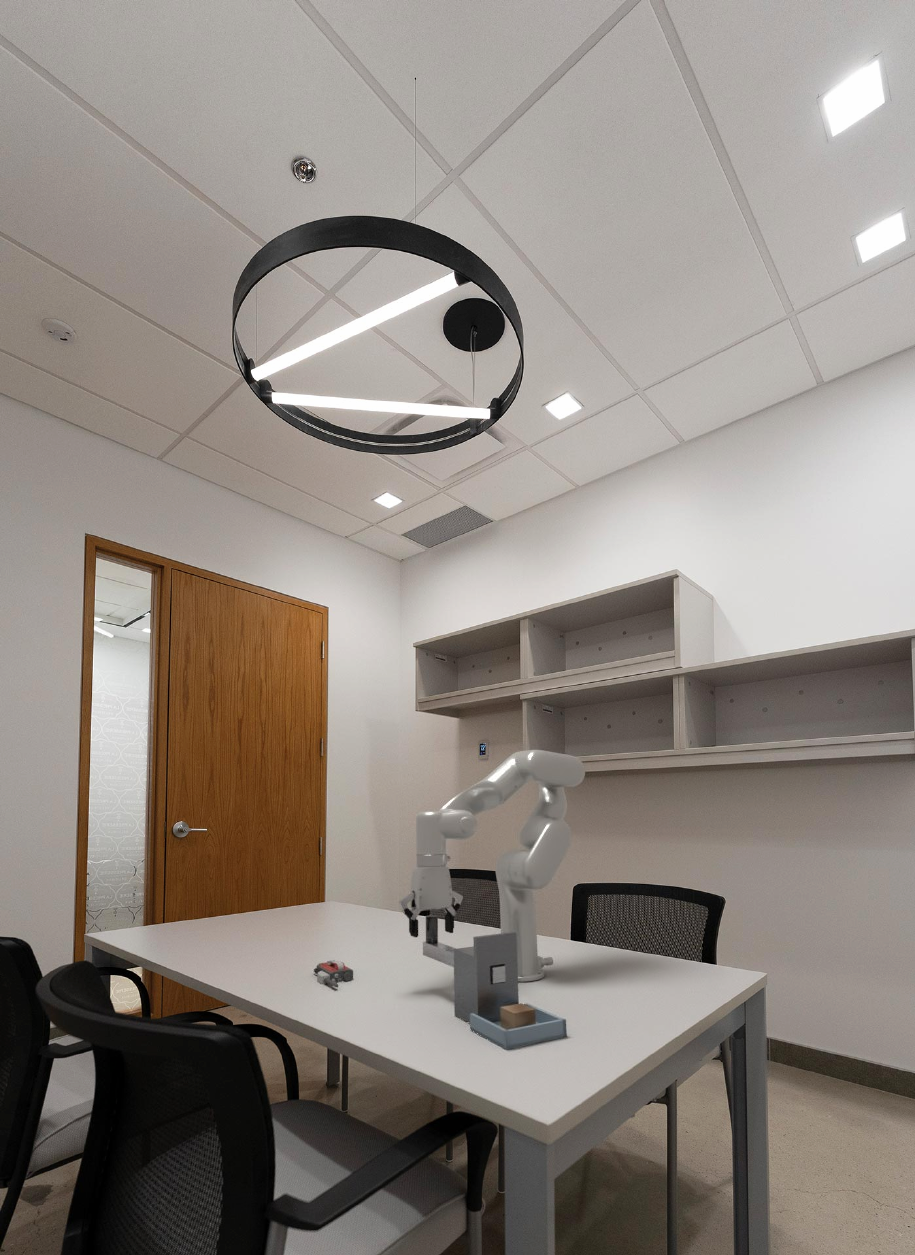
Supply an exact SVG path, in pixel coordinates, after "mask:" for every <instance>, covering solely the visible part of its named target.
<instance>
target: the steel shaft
mask: <svg viewBox="0 0 915 1255" xmlns="http://www.w3.org/2000/svg"><path fill="white" fill-rule="evenodd" d="M438 923H439V916H438V915H425V941H422V956H425V957H427V958H430V959H432V960H435V961H437V962H439V963H442V964H445V965H447V966H449V967H452V968H454V949H457V948H456V947H454V946H450V945H448V944H445V943H442V942H439V932H438V931H439V924H438ZM490 979H491V983H493V984H494V983H500V982H505V966H504V965H501V964H500V965H493V966H490Z"/></svg>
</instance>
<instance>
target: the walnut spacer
mask: <svg viewBox="0 0 915 1255" xmlns="http://www.w3.org/2000/svg"><path fill="white" fill-rule="evenodd" d="M524 1004H525V1003H524ZM524 1004H523V1003H521V1002H519V1004H515V1005H509V1006H504V1007H500V1011H501V1027H502V1028H504V1029H506V1030H509V1029H514V1028H519V1027H524V1026H529V1025H534V1024H536V1015H535V1009H533V1008H531V1007H529V1006H526V1005H524Z"/></svg>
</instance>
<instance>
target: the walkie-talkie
mask: <svg viewBox="0 0 915 1255" xmlns="http://www.w3.org/2000/svg"><path fill="white" fill-rule="evenodd" d="M313 972H314V974H315V975H316V974H317V975H316V978H317V979H316V981H317V982H318V983H320V985H326V984H325V983H327V985H329V986H331V987H334V988H337V989H338V988H339V984H338V983H343V982H342V981H344V982H349V980H350V981H353V980H354V970H353V969H352V968H349V967H347V965H346V966H345V962H342V961H341V960H335V959H333V960H327V962H319V963H318V964H317V965H316V968H314V969H313ZM335 982H337V983H335Z"/></svg>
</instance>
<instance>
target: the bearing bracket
mask: <svg viewBox="0 0 915 1255" xmlns="http://www.w3.org/2000/svg"><path fill="white" fill-rule="evenodd" d="M472 939H473V946H466V947H460V948H456V949H454V967H453V983H454V984H453V991H454V992H453V996H454V997H453V998H454V999H453V1001H454V1002H453V1003H454V1006H453V1009H454V1017H456V1016H457V1017H456V1018H458V1019H460V1018H461V1019H460V1020H462V1019H463V1020H465V1021H468V1022H469V1023H470V1014H472V1013H474V1014H476V1015H478V1016H480V1017H482V1018H484V1019H486V1020H488V1021H490V1022H492V1023H493V1022H498V1021H501V1011H500V1007H504V1006H509V1005H515V1004H520V1002H519V1000H520V999H519V998H520V997H519V982H518V966H517V935H516V932H508V933H501V932H500V933H493V934H485V935H478V936H473V938H472ZM500 964H501V965H504V966H505V982H500V983H494V984H493V983H491V979H490V966H493V965H500ZM463 1020H462V1021H463ZM465 1021H464V1022H465ZM469 1023H468V1024H469Z"/></svg>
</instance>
